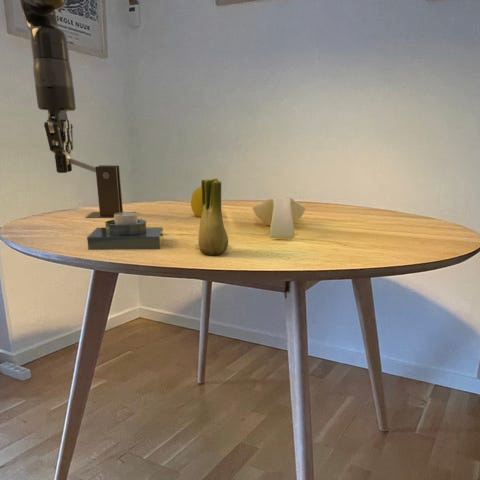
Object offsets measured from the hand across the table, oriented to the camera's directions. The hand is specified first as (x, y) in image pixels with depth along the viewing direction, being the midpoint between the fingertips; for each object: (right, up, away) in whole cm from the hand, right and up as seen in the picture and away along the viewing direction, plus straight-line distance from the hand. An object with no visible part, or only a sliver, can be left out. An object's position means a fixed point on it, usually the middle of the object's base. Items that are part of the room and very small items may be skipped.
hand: (64, 171), depth 103 cm
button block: (+19, -19, -20) cm, 33 cm away
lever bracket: (+9, -10, +5) cm, 14 cm away
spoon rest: (+47, -14, -4) cm, 49 cm away
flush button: (+19, -16, -21) cm, 32 cm away
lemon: (+30, -10, +5) cm, 32 cm away
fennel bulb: (+34, -22, -26) cm, 48 cm away
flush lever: (+4, 0, 0) cm, 4 cm away
